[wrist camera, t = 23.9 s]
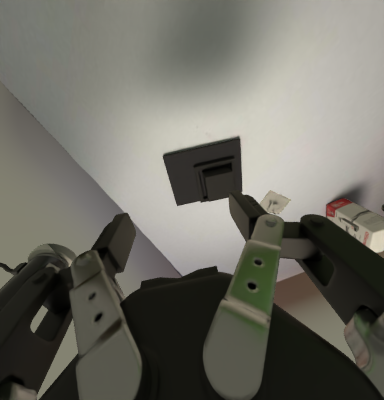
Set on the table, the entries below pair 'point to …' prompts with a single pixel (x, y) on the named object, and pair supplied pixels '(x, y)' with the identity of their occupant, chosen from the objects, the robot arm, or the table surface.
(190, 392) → the robot arm
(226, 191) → the black square block
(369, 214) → the ink box
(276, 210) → the beige piece
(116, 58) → the table surface
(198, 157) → the base pad
